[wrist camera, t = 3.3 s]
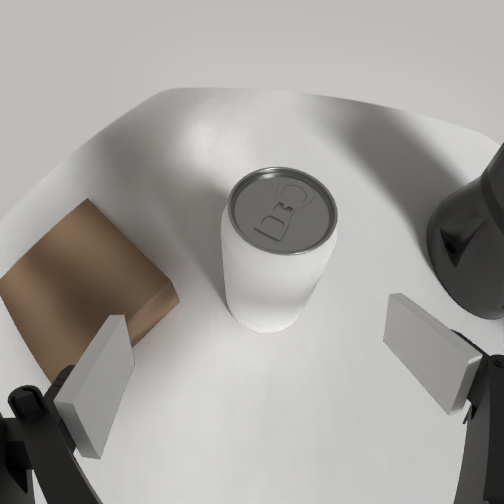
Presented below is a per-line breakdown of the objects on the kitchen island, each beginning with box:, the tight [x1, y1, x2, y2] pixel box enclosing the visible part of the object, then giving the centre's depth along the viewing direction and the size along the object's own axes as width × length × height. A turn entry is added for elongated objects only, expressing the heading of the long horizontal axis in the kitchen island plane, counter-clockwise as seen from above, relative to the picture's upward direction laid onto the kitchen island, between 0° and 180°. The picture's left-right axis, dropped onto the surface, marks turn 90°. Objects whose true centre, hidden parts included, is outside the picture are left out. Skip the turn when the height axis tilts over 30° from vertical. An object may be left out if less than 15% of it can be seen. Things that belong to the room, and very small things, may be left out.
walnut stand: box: [0, 198, 180, 384], centre depth 23 cm, size 12×12×4 cm
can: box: [221, 167, 337, 333], centre depth 21 cm, size 6×6×12 cm
